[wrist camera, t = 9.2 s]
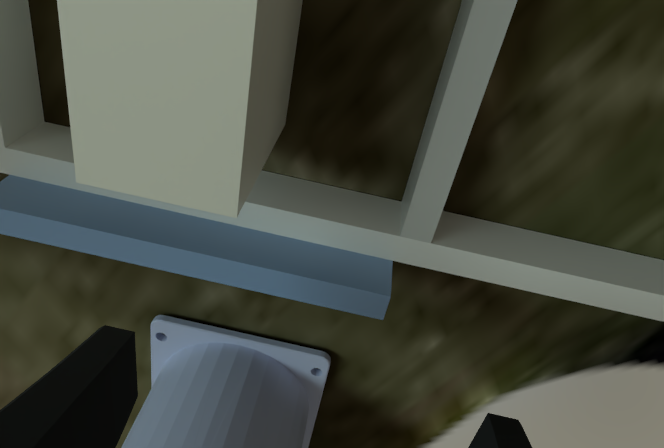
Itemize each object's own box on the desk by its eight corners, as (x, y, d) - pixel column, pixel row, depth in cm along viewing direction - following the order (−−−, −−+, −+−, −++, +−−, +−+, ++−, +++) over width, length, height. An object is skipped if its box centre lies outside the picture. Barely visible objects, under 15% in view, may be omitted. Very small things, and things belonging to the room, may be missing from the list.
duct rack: (781, 334, 20) (855, 426, 16) (25, 164, 20) (-53, 221, 17) (1233, -150, 11) (1568, -162, 8) (-74, -434, 12) (-268, -558, 8)
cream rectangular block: (285, 123, 18) (236, 218, 13) (169, 97, 18) (76, 182, 13) (326, -168, 13) (275, -195, 8) (172, -201, 13) (30, -248, 8)
